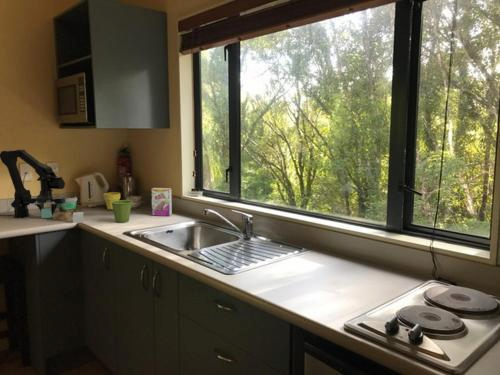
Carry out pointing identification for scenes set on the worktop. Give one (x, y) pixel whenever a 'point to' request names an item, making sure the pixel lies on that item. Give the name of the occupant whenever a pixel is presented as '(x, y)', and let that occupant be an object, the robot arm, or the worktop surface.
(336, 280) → the worktop surface
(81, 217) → the grey cube
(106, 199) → the plant pot
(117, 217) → the plant pot
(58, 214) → the walnut block
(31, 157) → the robot arm
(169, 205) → the candy bar box
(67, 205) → the food container
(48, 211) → the teal cube
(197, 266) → the worktop surface
